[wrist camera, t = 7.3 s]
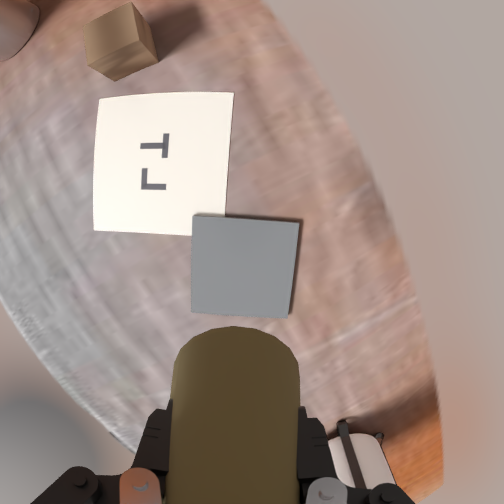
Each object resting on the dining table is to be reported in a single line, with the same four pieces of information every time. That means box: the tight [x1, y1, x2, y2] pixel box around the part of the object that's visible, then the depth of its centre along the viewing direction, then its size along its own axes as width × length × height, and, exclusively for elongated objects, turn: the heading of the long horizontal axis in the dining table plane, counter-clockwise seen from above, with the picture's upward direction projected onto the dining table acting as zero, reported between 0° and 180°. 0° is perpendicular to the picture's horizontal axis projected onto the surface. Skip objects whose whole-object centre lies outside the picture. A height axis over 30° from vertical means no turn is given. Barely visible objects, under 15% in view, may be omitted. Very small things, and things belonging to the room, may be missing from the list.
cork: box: [163, 326, 300, 504], centre depth 8 cm, size 6×6×11 cm
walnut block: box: [83, 2, 159, 81], centre depth 20 cm, size 5×5×6 cm
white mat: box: [93, 92, 234, 236], centre depth 26 cm, size 14×14×1 cm
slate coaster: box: [191, 215, 299, 318], centre depth 28 cm, size 10×10×1 cm
